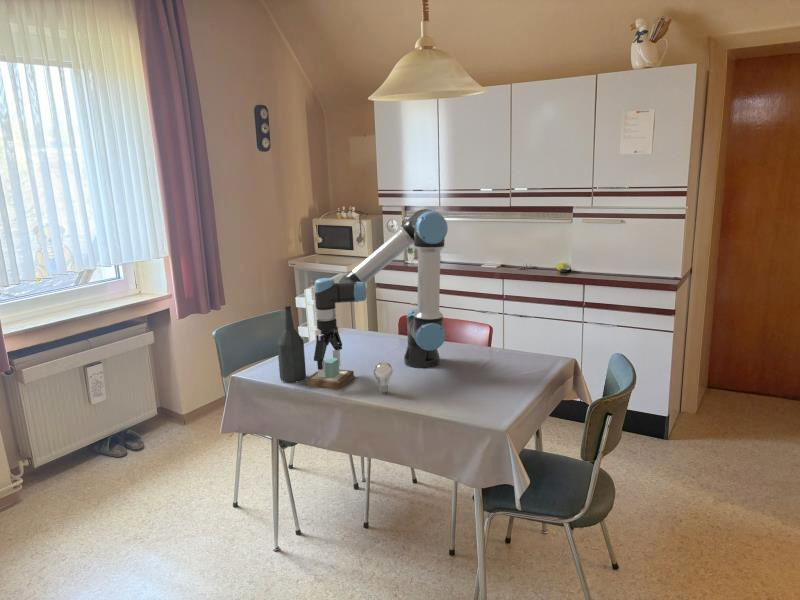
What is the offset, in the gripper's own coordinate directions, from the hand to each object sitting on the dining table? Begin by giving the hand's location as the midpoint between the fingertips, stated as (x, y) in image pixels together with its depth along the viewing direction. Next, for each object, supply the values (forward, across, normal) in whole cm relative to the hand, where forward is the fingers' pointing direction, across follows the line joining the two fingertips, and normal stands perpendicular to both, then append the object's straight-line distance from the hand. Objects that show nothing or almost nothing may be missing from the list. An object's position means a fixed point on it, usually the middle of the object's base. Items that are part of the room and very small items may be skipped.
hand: (329, 371), depth 239 cm
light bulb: (+4, +6, +25) cm, 26 cm away
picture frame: (+4, 0, 0) cm, 4 cm away
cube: (+2, 0, 0) cm, 2 cm away
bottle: (+4, +1, -16) cm, 17 cm away
